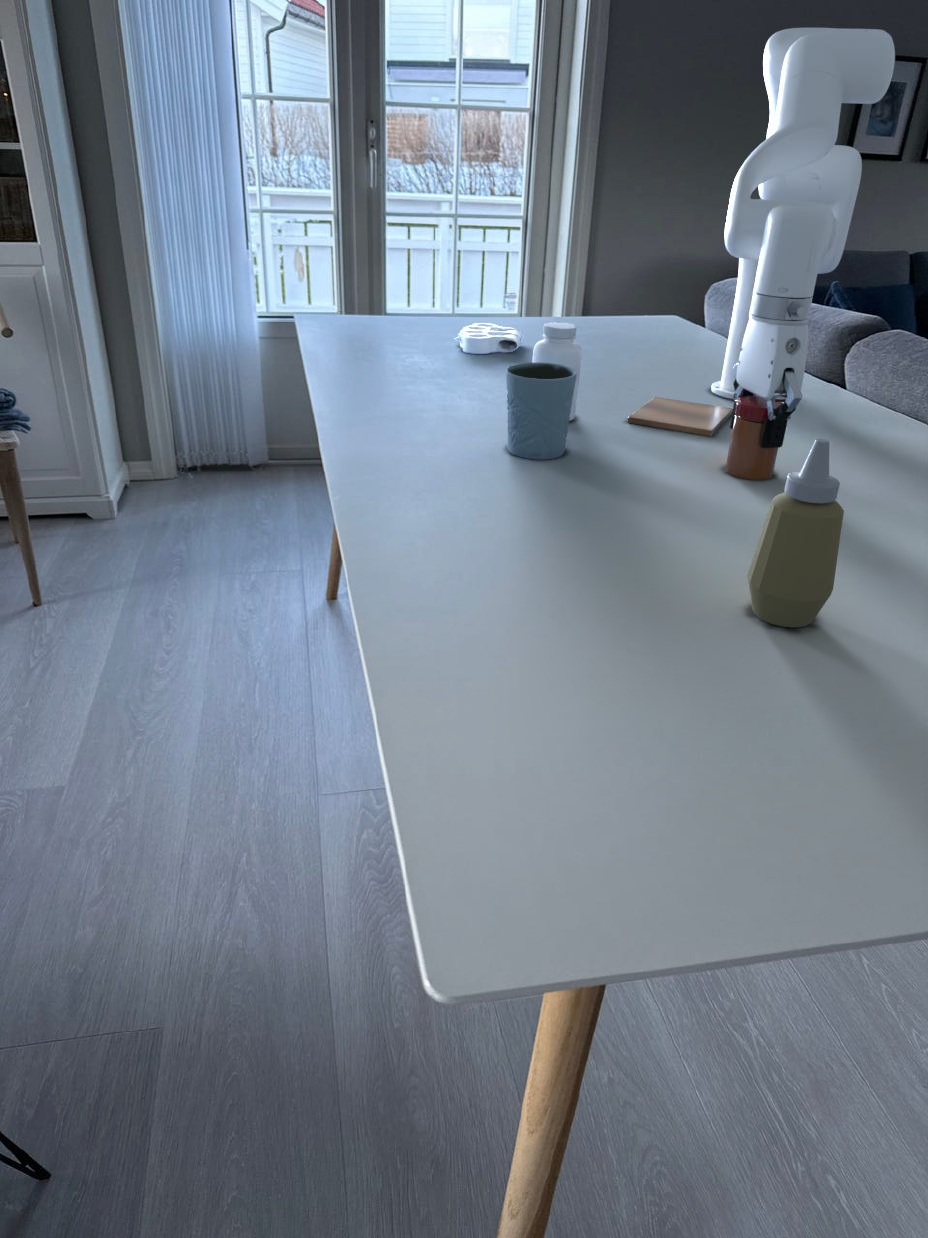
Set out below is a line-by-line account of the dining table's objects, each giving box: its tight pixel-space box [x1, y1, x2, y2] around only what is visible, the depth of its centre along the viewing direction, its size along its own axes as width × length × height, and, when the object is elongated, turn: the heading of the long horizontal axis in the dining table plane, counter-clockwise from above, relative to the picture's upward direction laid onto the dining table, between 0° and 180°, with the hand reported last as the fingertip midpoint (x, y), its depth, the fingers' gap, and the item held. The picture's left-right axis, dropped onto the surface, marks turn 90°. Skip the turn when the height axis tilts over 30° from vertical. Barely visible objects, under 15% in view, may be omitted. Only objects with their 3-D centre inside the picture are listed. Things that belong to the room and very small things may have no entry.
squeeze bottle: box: [746, 438, 845, 628], centre depth 86 cm, size 8×8×18 cm
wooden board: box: [627, 396, 733, 437], centre depth 154 cm, size 16×14×1 cm
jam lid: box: [734, 396, 781, 421], centre depth 125 cm, size 7×7×2 cm
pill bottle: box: [531, 321, 583, 422], centre depth 148 cm, size 8×8×15 cm
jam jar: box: [725, 414, 779, 481], centre depth 127 cm, size 7×7×10 cm
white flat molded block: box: [453, 322, 524, 355], centre depth 201 cm, size 3×18×15 cm
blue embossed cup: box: [505, 362, 577, 460], centre depth 132 cm, size 10×10×12 cm
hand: (755, 437), depth 127 cm, fingers open, 8 cm apart
